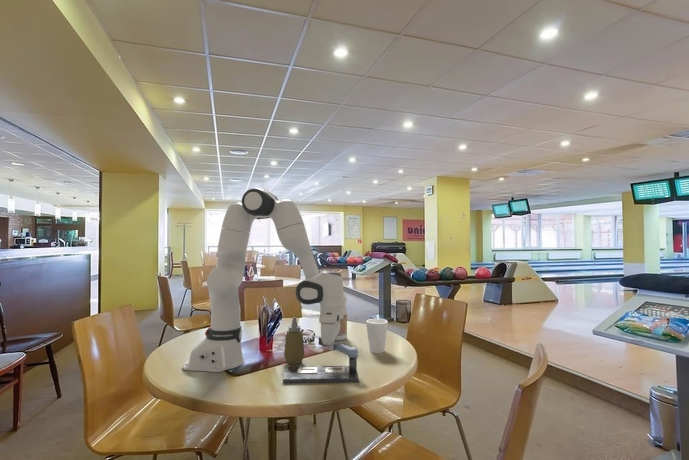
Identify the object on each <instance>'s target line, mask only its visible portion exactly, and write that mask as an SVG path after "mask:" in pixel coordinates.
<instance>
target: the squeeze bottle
mask: <svg viewBox="0 0 689 460" xmlns="http://www.w3.org/2000/svg"><path fill="white" fill-rule="evenodd" d="M303 335H304V334H303V332H302V331H301V326H300V325H298V320H297V317H296V316H293V317H292V321H291V325H289V326H288V331H287V332H286V334H285V344H284V353H283V355H284V359H285V362H286V364H287V365H290V366H297V365H300V364H301V363H302V362H303V359H304V357H305V348H304V347H305V346H304V336H303Z"/></svg>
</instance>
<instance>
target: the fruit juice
mask: <svg viewBox="0 0 689 460" xmlns="http://www.w3.org/2000/svg"><path fill="white" fill-rule="evenodd" d="M347 298H348V297H347V296H346V294H345V293H344V292H343V297H342V301H343V318H342V319H340V331H339V333H338V335H337V336H336V338H335V341H344V340H346V339H347V338H348V337H347V336H348V309H347V303H348V302H347V301H348V300H347Z"/></svg>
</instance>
